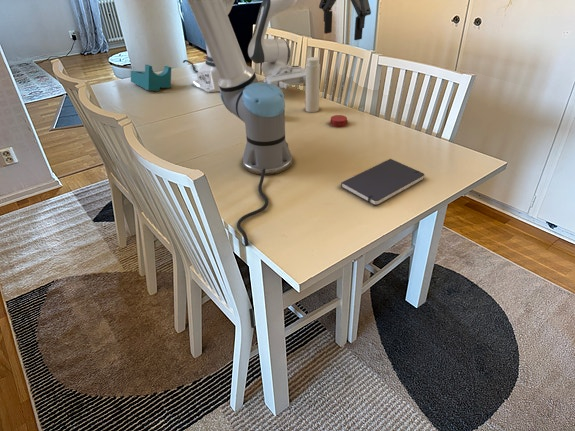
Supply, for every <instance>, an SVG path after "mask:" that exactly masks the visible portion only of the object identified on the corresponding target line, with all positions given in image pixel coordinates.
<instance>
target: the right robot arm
mask: <svg viewBox="0 0 575 431" xmlns="http://www.w3.org/2000/svg"><path fill="white" fill-rule="evenodd" d="M186 2H187V4H188V6H189V8H190V10H191V13H192V15H193V17H194V20H195V22H196V24H197V27H198V29H199V31H200V34H201V36H202V38H203V40H204V43H205V46H206V45H207V47H208V50H209V52H210V54H211V57H212V59H213V61H214V63H215V66H216V68H217V70H218V73H219V75H220V78H219V81H218V85H219V87H220V90H221V91H219V93H220V99H221V102H222V103H223V106H224V107H225V108H226V109H227V110H228V111H229V113H231V114H233V115H234V116H236V117H237V118H238V119H239V120H240V121H241V122H242V123H244V125H245V136H246V137H245V138H246V143H245V146H244V151H243V155H242V166H243V168H244V170H246V171H247V172H249V173H252V174H254V175H255V174H256V175H260V179H259V183H258V188H257V190H258V193H259V195H260V196H261V197H262V198H263V201H264V204H263V205H262V206H261V207H260V208H258V209H256V210H253V211H251V212H249V213H246V214H244V215H243V216H241V217H240V218H239V219H238V220H237V223H236V228H237V230H238V231H239V232H240V234H241V235H242V237H243V241H244V242H243V243H244V246H245V247H248V246H249V238H248V235H247V233H246V231H245V230H244V229H243V227H242V226H241V224H242V223H243V221H245V220H246V219H248V218H250V217H253V216H254V215H257V214H259V213H262V212H263V211H264V210H266V208H267V207H268V205H269V199H268V197H267V196H266V194H265V193H264V192H263V188H262V187H263V183H264V180H265V176H269V175H277V174H280V173H283V172H286V171H287V170H289V169H290V167H291V166H292V163H293V157H292V153H291V150H290V148H289V143H288V142H287V140H286V115H285V114H286V111H285V110H286V108H285V107H286V101H285V95H284V92H283V90H282V88H279V87H278V86H276V85H273V84H268V83H264V82H263V81H261V82H259V80H258V77H257V75H256V72H255V69H254V68H253V67H252V66H249V65H247V62H246V60H245V57H244V55H243V51H242V49H241V47H240V44H239V42H238V41H239V40H238V39H237V36H236V33H235V31H234V28H233V25H232V23H231V21H230V17H229V14H228V15H227V12H226V10H225V7H224V4H223V2H222V0H186ZM336 2H337V0H320V2H319V4H318V8H319V10H322V11H323V23H324V24H323V25H324V26H323V27H324V29H323V30H324V31H323V34H326V35H327V34H332V30H333V29H332V28H333V10H332V8H333V6H334V5H335V4H336ZM350 2H351V4H352V6H353V9H354V11H355V14H356V16H355V23H354V34H353V36H354V38H353V40H354V41H360V40H362V39H363V29H365V24H366V17H367V16H370V15H371V14H372V10H371V7H370V3H369V0H350ZM248 310H249V321H250V327H251V329H255V318H254V317H255V316H254V311H253V310H254V309H253V308H248Z"/></svg>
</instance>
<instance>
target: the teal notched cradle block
mask: <svg viewBox="0 0 575 431" xmlns="http://www.w3.org/2000/svg"><path fill="white" fill-rule="evenodd" d="M130 82H131V83H132V84H134V85H137V86H139V87H140V88H142V89H144V90H146V91H154V92H155V91H156V92H157V91H158V92H160V90H161V88H164V89H166V88H167V89H170V88H171V85H172V67H171V66H168V65H164V68H163V70H162V72H161V73H156V72H154V70H153V66H152V65H150V64H144V71H141V70H130Z"/></svg>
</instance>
